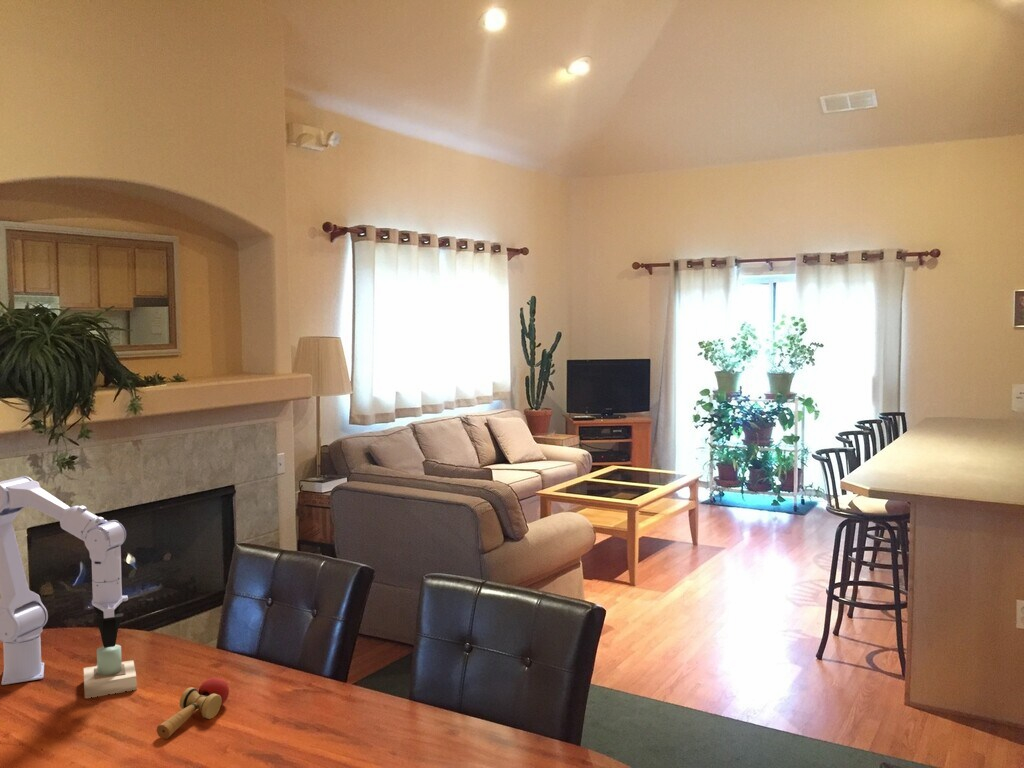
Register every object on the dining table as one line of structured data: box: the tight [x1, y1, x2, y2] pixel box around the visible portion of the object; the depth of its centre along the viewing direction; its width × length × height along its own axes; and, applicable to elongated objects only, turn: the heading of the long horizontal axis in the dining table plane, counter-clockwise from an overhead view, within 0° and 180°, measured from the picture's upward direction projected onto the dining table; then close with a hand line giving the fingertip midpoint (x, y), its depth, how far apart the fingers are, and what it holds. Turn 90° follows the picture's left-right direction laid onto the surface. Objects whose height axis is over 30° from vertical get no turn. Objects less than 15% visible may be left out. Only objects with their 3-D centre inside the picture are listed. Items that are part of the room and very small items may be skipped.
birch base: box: [83, 659, 138, 699], centre depth 190 cm, size 10×10×3 cm
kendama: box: [156, 676, 230, 740], centre depth 174 cm, size 8×6×18 cm
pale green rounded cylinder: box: [96, 644, 123, 676], centre depth 189 cm, size 5×5×5 cm
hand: (108, 640), depth 189 cm, fingers open, 7 cm apart
